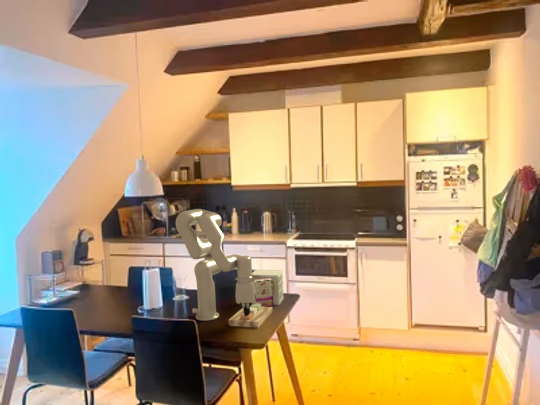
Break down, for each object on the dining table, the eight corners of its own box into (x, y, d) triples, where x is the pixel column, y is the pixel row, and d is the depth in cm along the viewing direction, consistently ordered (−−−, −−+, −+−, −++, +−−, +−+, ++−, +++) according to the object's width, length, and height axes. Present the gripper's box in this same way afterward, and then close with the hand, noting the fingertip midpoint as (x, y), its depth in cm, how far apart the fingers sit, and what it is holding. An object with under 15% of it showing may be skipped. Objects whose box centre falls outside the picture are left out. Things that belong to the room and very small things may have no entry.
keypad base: (229, 325, 229) (228, 319, 228) (245, 310, 251) (245, 305, 251) (258, 327, 224) (258, 321, 224) (272, 312, 247) (272, 307, 246)
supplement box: (250, 304, 263) (249, 274, 262) (256, 298, 276) (255, 269, 275) (279, 305, 259) (278, 275, 258) (283, 298, 272) (282, 269, 270)
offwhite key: (245, 315, 236) (245, 309, 236) (248, 312, 241) (248, 307, 240) (254, 316, 234) (253, 310, 234) (257, 313, 239) (257, 307, 239)
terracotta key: (240, 321, 229) (240, 316, 229) (244, 318, 234) (243, 312, 234) (249, 322, 228) (249, 316, 227) (252, 319, 232) (252, 313, 232)
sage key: (249, 311, 242) (249, 305, 242) (252, 308, 247) (252, 303, 247) (258, 311, 241) (258, 306, 241) (261, 309, 246) (261, 303, 245)
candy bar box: (271, 305, 260) (270, 277, 259) (273, 307, 255) (272, 279, 254) (252, 307, 257) (251, 279, 256) (254, 309, 253) (253, 281, 251)
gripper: (228, 281, 228) (230, 316, 229) (256, 282, 223) (258, 318, 225) (234, 277, 235) (236, 311, 236) (261, 278, 230) (262, 313, 232)
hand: (247, 314), depth 230 cm, fingers closed
